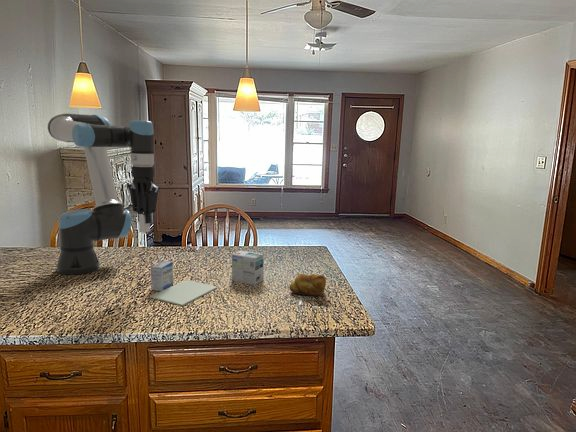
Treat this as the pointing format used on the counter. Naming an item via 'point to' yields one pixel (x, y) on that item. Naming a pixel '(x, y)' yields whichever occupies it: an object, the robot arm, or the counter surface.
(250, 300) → the counter surface
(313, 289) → the bread roll
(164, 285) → the medicine box
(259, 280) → the light bulb box
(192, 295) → the cutting board
